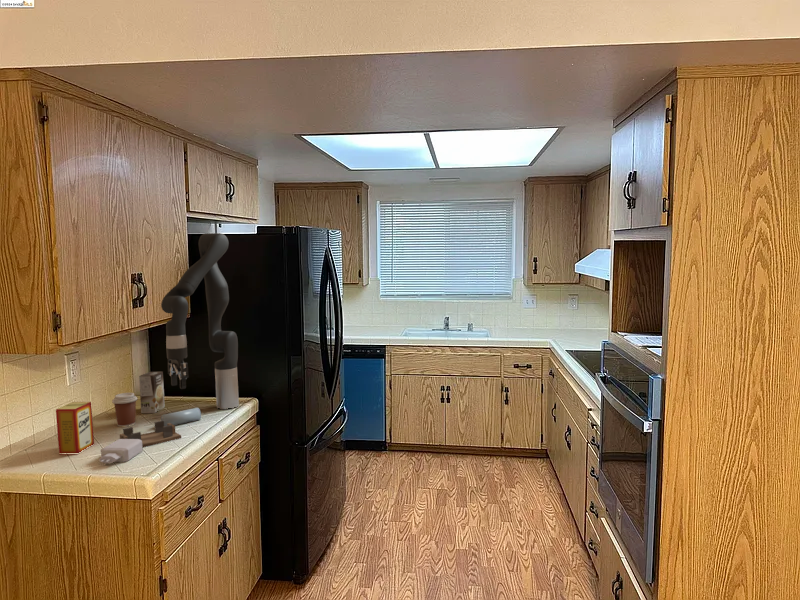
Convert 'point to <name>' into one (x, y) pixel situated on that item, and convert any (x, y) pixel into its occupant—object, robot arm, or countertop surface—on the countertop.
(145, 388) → the coffee box
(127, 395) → the coffee cup
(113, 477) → the countertop surface
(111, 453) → the charger
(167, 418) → the cylinder
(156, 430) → the walnut holder
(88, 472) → the countertop surface
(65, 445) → the baking soda box
